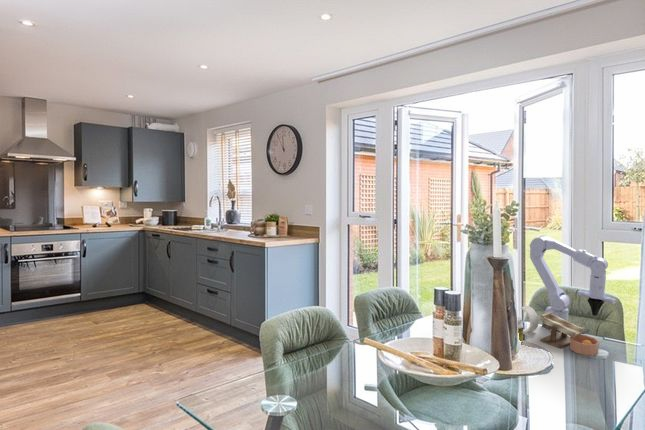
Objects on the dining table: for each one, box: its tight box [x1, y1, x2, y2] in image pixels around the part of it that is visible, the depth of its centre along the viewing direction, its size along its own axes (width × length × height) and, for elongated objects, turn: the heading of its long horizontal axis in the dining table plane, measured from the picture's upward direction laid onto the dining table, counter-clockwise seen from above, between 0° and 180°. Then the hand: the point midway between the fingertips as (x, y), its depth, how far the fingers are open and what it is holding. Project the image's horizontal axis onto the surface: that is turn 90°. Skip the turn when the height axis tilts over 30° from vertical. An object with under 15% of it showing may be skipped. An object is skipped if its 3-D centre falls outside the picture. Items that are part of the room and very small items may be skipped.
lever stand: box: [540, 326, 570, 349], centre depth 192 cm, size 9×13×8 cm
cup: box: [569, 334, 600, 356], centre depth 184 cm, size 10×10×4 cm
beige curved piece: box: [539, 312, 590, 338], centre depth 193 cm, size 16×12×6 cm
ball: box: [582, 340, 592, 344], centre depth 183 cm, size 4×4×4 cm
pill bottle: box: [517, 316, 524, 342], centre depth 191 cm, size 6×6×11 cm
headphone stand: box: [520, 305, 540, 337], centre depth 200 cm, size 5×6×12 cm
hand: (594, 315), depth 196 cm, fingers closed
